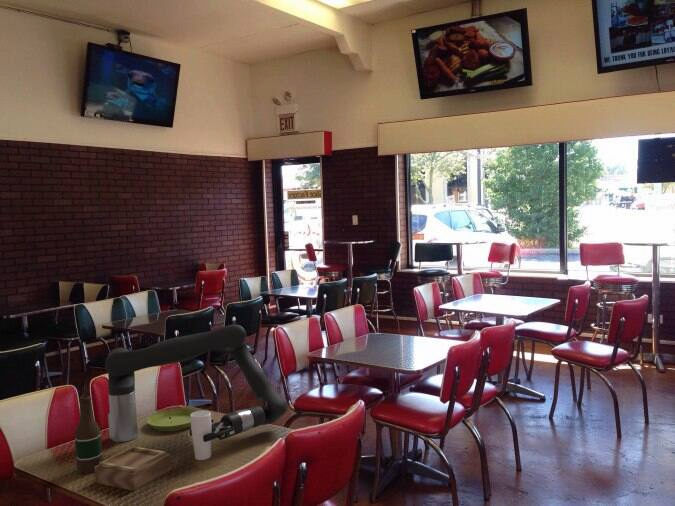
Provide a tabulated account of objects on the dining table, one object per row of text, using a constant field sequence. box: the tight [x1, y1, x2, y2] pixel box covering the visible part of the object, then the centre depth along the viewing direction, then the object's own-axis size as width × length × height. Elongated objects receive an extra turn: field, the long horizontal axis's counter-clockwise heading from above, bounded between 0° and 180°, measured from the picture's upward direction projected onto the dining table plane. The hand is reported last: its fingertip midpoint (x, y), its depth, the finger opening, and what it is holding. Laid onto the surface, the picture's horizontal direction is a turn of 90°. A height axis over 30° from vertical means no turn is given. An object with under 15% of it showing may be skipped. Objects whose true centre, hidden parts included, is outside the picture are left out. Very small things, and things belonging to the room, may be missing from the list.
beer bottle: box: [74, 395, 104, 474], centre depth 193 cm, size 8×8×24 cm
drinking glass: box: [190, 410, 212, 461], centre depth 198 cm, size 7×7×15 cm
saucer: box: [146, 408, 198, 432], centre depth 233 cm, size 21×21×3 cm
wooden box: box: [94, 445, 172, 492], centre depth 187 cm, size 16×16×6 cm
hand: (196, 435), depth 197 cm, fingers open, 8 cm apart
